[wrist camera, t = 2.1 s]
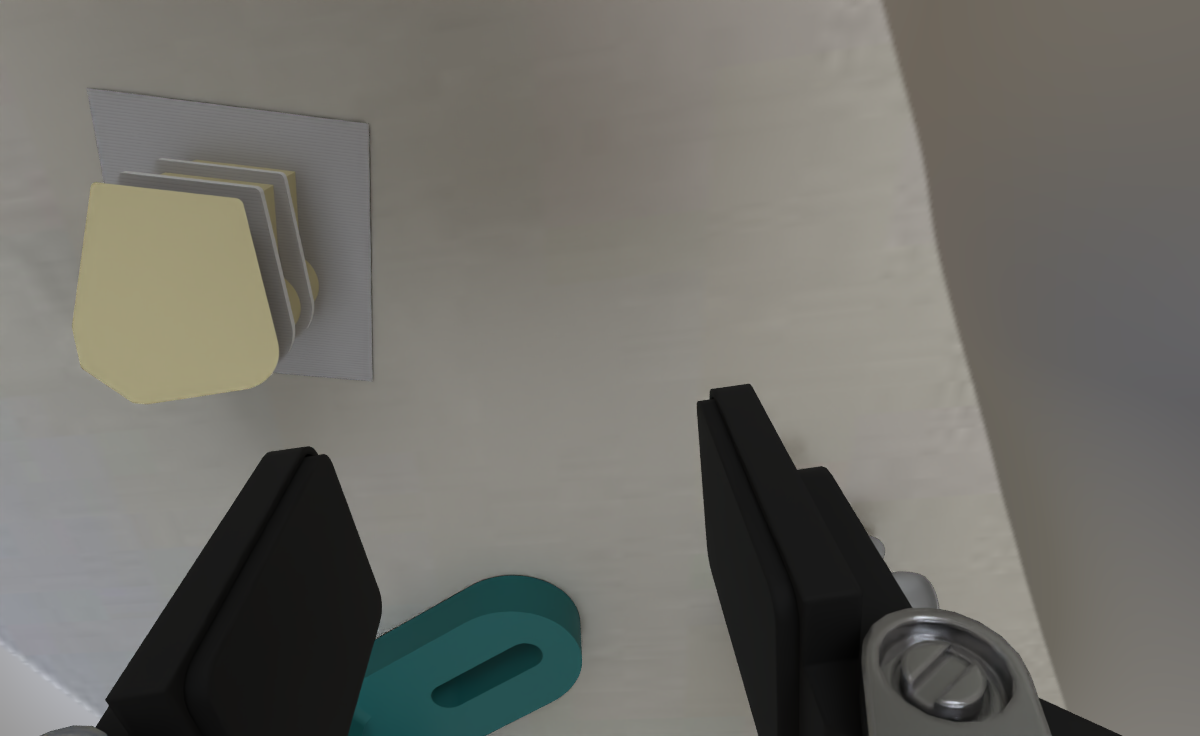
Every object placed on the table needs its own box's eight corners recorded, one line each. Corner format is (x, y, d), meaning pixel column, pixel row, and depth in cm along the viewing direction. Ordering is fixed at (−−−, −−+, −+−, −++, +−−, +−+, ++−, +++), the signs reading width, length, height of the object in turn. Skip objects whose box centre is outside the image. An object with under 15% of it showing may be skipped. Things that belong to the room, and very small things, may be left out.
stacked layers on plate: (87, 87, 23) (-41, 108, 18) (369, 123, 24) (321, 152, 19) (137, 360, 27) (46, 437, 22) (372, 380, 28) (334, 458, 23)
